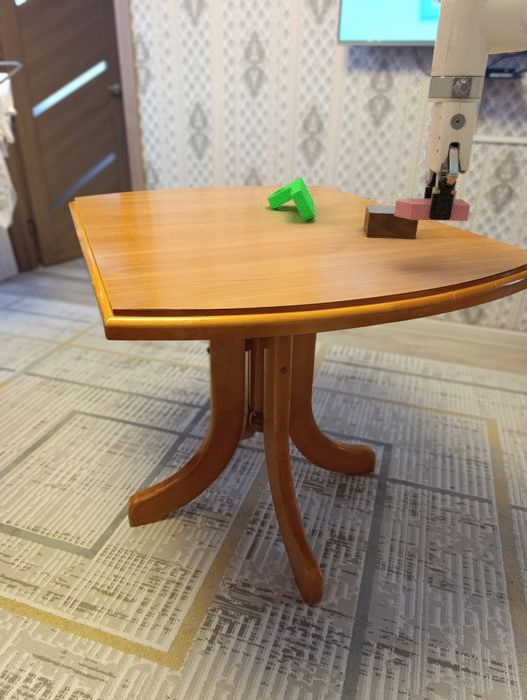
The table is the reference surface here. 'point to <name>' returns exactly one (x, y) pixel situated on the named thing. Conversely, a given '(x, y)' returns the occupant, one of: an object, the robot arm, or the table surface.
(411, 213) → the boat
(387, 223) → the block
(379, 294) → the table surface
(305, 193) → the bracket
